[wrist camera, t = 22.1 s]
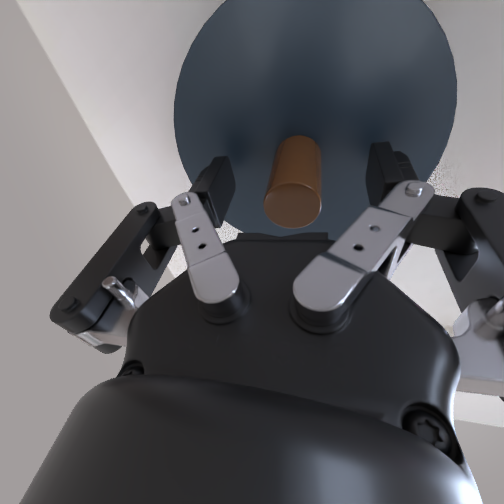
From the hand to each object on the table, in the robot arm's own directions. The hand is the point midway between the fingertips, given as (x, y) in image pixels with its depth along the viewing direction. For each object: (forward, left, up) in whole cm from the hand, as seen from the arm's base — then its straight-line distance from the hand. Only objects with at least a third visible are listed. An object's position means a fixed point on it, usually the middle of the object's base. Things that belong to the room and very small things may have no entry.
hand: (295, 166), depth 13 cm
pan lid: (0, 0, -2) cm, 2 cm away
